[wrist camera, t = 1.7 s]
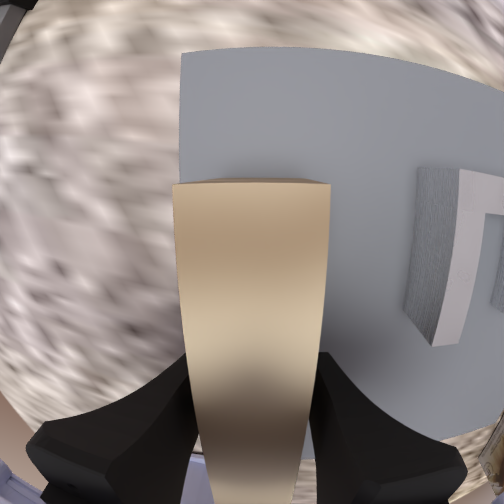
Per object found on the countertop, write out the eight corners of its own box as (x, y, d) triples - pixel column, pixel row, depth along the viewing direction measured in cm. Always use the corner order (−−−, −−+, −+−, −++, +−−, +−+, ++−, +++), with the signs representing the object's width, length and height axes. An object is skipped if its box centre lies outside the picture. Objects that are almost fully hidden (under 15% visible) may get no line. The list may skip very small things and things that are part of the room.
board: (487, 410, 14) (495, 422, 13) (212, 436, 16) (208, 454, 14) (548, 124, 9) (564, 123, 8) (192, 65, 11) (181, 53, 9)
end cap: (504, 301, 11) (539, 327, 8) (401, 309, 11) (431, 346, 8) (522, 186, 9) (565, 194, 6) (417, 167, 10) (459, 168, 7)
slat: (286, 450, 14) (285, 524, 9) (232, 447, 14) (219, 520, 9) (305, 178, 10) (330, 184, 5) (219, 178, 10) (172, 184, 6)
